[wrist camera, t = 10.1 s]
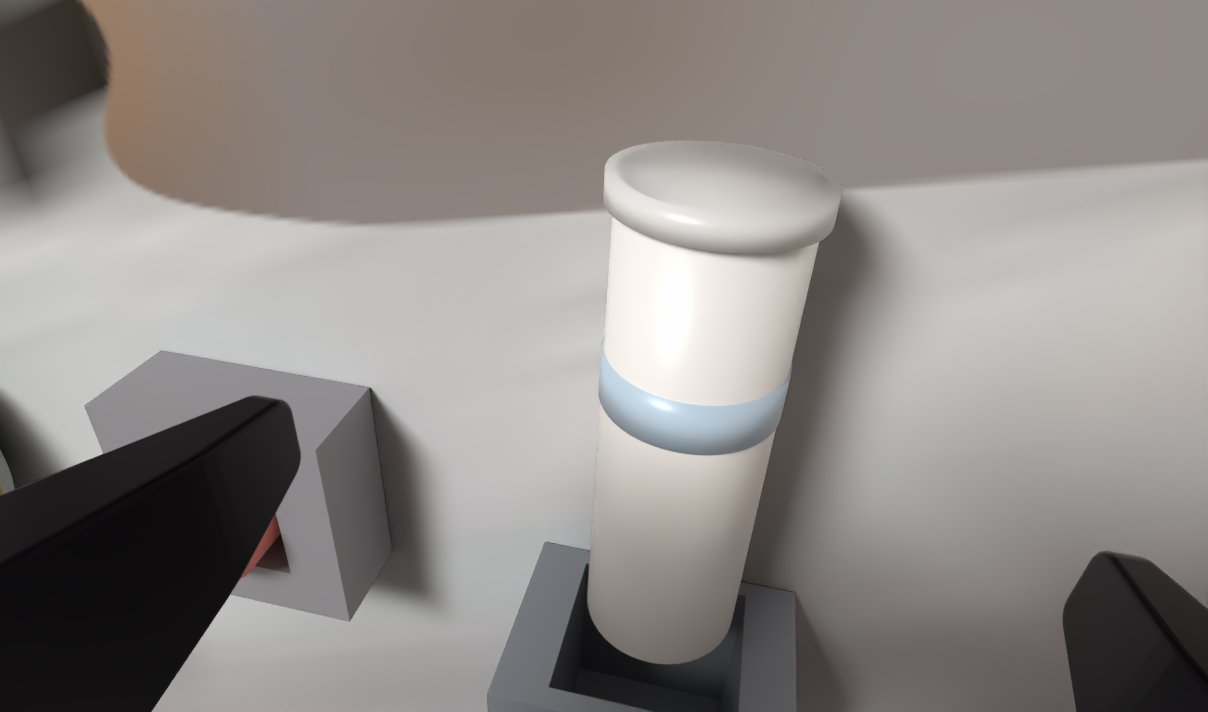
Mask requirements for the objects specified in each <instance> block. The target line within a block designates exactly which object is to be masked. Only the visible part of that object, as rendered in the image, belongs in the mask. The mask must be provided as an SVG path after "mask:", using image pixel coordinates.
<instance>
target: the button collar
mask: <svg viewBox="0 0 1208 712" xmlns="http://www.w3.org/2000/svg"><path fill="white" fill-rule="evenodd" d="M251 395H261V396H267V397H272V398H277V399H282V400H284V401H286V402H287V403H288V404H289V406H290V407H291V409H292V413H293V418H294V422H295V427H296V431H297V436H298V441H299V445H300V450H301V462H300V466H299V470H298V472H297V474H296V476H295V478H294V480H293V482H292V484H291V486H290V488H289V489H288V491H287V493H286V495H285V497H284V499H283V501H282V503H281V504H280V506H279V508H278V510H277V512H276V516H277V520H278V524H279V528H280V532H281V534H280V535H279V536H278V538H277V539H276V540H275V541H274V543H273V544H272V545H271V546H270V548H269V549H268V550H267V551H266V553H265V554H264V555H263V556H262V557H261V559H260V560H259V561H258V562H257V564H256V565H255V566H254V567H253V569H252V570H251V571H250V572H249V574H248V575H246V576H245V577H243V578H241V579H240V580H239V581H238V583H237V585H236V586H235V588H234V589H233V591H232V592H231V595H235V596H239V597H244V598H248V599H252V600H257V601H261V602H266V603H270V604H274V605H279V606H283V607H287V608H292V609H296V610H301V611H305V612H309V613H314V614H318V615H323V616H327V617H331V618H336V619H340V620H344V621H349V622H350V620H351V619H352V617H353V615H354V614H355V612H356V611H357V609H358V607H359V606H360V604H361V602H362V601H363V599H364V597H365V596H366V594H367V592H368V591H369V589H370V587H371V586H372V584H373V583H374V581H375V579H376V578H377V576H378V574H379V573H380V571H381V569H382V568H383V566H384V564H385V563H386V561H387V559H388V558H389V556H390V555H391V553H392V546H391V539H390V532H389V525H388V518H387V511H386V503H385V496H384V489H383V482H382V475H381V468H380V461H379V454H378V447H377V440H376V432H375V425H374V418H373V411H372V404H371V397H370V390H369V388H368V387H363V386H357V385H351V384H346V383H340V382H334V381H329V380H323V379H318V378H312V377H306V376H301V375H295V374H289V373H284V372H278V371H272V370H267V369H261V368H256V367H250V366H244V365H239V364H233V363H227V362H222V361H216V360H210V359H205V358H199V357H194V356H188V355H182V354H177V353H171V352H165V351H160V352H158V353H157V354H155V355H154V356H153V357H151V358H150V359H149V360H147V361H146V362H144V363H143V364H142V365H140V366H139V367H137V368H136V369H135V370H133V371H132V372H130V373H129V374H128V375H126V376H125V377H123V378H122V379H121V380H119V381H118V382H116V383H115V384H114V385H112V386H111V387H110V388H108V389H107V390H105V391H104V392H103V393H101V394H100V395H98V396H97V397H96V398H94V399H93V400H91V401H90V402H89V403H87V404H86V405H84V406H85V409H86V411H87V414H88V416H89V419H90V421H91V424H92V426H93V429H94V431H95V434H96V436H97V439H98V441H99V444H100V446H101V449H102V451H103V454H105V453H107V452H110V451H112V450H115V449H117V448H120V447H122V446H125V445H127V444H130V443H132V442H135V441H137V440H140V439H142V438H145V437H147V436H150V435H152V434H155V433H157V432H160V431H162V430H165V429H167V428H170V427H172V426H175V425H177V424H180V423H182V422H185V421H188V420H190V419H193V418H195V417H198V416H200V415H203V414H205V413H208V412H210V411H213V410H215V409H218V408H220V407H223V406H225V405H228V404H230V403H233V402H235V401H238V400H240V399H243V398H245V397H248V396H251Z"/></svg>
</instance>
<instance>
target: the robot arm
mask: <svg viewBox="0 0 1208 712" xmlns="http://www.w3.org/2000/svg"><path fill="white" fill-rule="evenodd" d="M300 462H301V450H300V445H299V441H298V436H297V431H296V427H295V422H294V418H293V413H292V409H291V407H290V406H289V404H288V403H287V402H286V401H284V400H282V399H277V398H272V397H267V396H261V395H251V396H248V397H245V398H243V399H240V400H238V401H235V402H233V403H230V404H228V405H225V406H223V407H220V408H218V409H215V410H213V411H210V412H208V413H205V414H203V415H200V416H198V417H195V418H193V419H190V420H188V421H185V422H182V423H180V424H177V425H175V426H172V427H170V428H167V429H165V430H162V431H160V432H157V433H155V434H152V435H150V436H147V437H145V438H142V439H140V440H137V441H135V442H132V443H130V444H127V445H125V446H122V447H120V448H117V449H115V450H112V451H110V452H107V453H105V454H102V455H100V456H97V457H95V458H92V459H90V460H87V461H85V462H82V463H79V464H77V465H74V466H72V467H69V468H67V469H64V470H62V471H59V472H57V473H54V474H52V475H49V476H47V477H44V478H42V479H39V480H37V481H34V482H32V483H29V484H27V485H24V486H22V487H19V488H17V489H14V490H12V491H9V492H7V493H4V494H2V495H0V712H152V710H153V709H154V707H155V706H156V704H157V703H158V701H159V700H160V698H161V697H162V695H163V694H164V692H165V691H166V689H167V688H168V686H169V685H170V683H171V682H172V680H173V679H174V677H175V676H176V674H177V673H178V671H179V670H180V668H181V667H182V666H183V664H184V663H185V661H186V660H187V658H188V657H189V655H190V654H191V652H192V651H193V649H194V648H195V646H196V645H197V643H198V642H199V640H200V639H201V637H202V636H203V634H204V633H205V631H206V630H207V628H208V627H209V625H210V624H211V622H212V621H213V619H214V618H215V617H216V615H217V614H218V612H219V611H220V609H221V608H222V606H223V605H224V603H225V602H226V600H227V599H228V597H229V596H230V594H231V592H232V591H233V589H234V588H235V586H236V585H237V583H238V581H239V580H240V578H241V576H242V575H243V573H244V571H245V569H246V568H247V566H248V564H249V563H250V561H251V559H252V557H253V555H254V553H255V551H256V549H257V548H258V546H259V544H260V542H261V540H262V538H263V536H264V534H265V533H266V531H267V529H268V527H269V525H270V523H271V521H272V519H273V518H274V516H275V514H276V512H277V510H278V508H279V506H280V504H281V503H282V501H283V499H284V497H285V495H286V493H287V491H288V489H289V488H290V486H291V484H292V482H293V480H294V478H295V476H296V474H297V472H298V470H299V466H300ZM1063 629H1064V635H1065V642H1066V648H1067V654H1068V660H1069V667H1070V673H1071V679H1072V686H1073V692H1074V698H1075V705H1076V711H1077V712H1208V609H1207V608H1206V607H1205V606H1204V605H1203V604H1201V603H1200V602H1199V601H1198V600H1197V599H1195V598H1194V597H1193V596H1192V595H1191V594H1189V593H1188V592H1187V591H1186V590H1185V589H1183V588H1182V587H1181V586H1180V585H1179V584H1178V583H1176V582H1175V581H1174V580H1173V579H1172V578H1170V577H1169V576H1168V575H1167V574H1166V573H1164V572H1163V571H1162V570H1161V569H1160V568H1158V567H1157V566H1156V565H1155V564H1153V563H1152V562H1151V561H1149V560H1147V559H1145V558H1142V557H1139V556H1133V555H1128V554H1123V553H1117V552H1112V551H1102V552H1099V553H1098V554H1096V555H1095V556H1094V557H1093V558H1092V559H1091V561H1090V562H1089V564H1088V566H1087V567H1086V569H1085V571H1084V572H1083V574H1082V576H1081V577H1080V579H1079V581H1078V582H1077V584H1076V586H1075V587H1074V589H1073V591H1072V592H1071V594H1070V596H1069V597H1068V599H1067V601H1066V604H1065V607H1064V611H1063Z"/></svg>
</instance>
